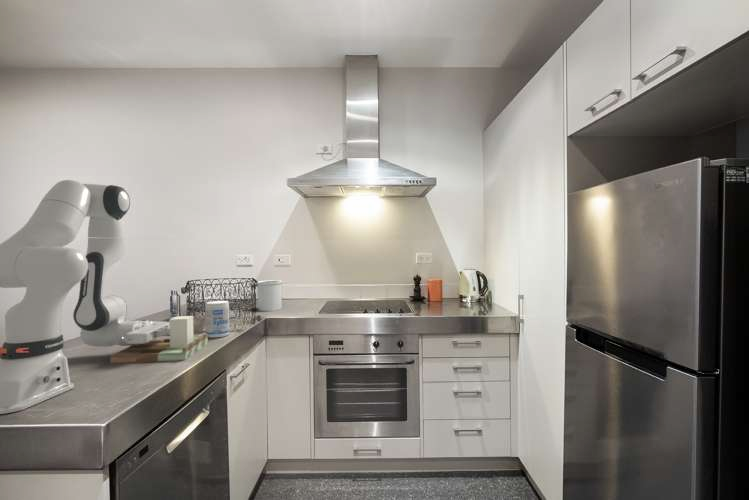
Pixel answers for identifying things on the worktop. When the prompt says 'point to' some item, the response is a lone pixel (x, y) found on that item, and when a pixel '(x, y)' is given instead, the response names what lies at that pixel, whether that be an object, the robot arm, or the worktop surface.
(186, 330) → the cream block
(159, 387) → the worktop surface
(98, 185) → the robot arm
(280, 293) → the utensil holder
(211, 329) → the supplement tub
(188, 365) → the worktop surface
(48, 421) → the worktop surface
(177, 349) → the brown green flat slab
